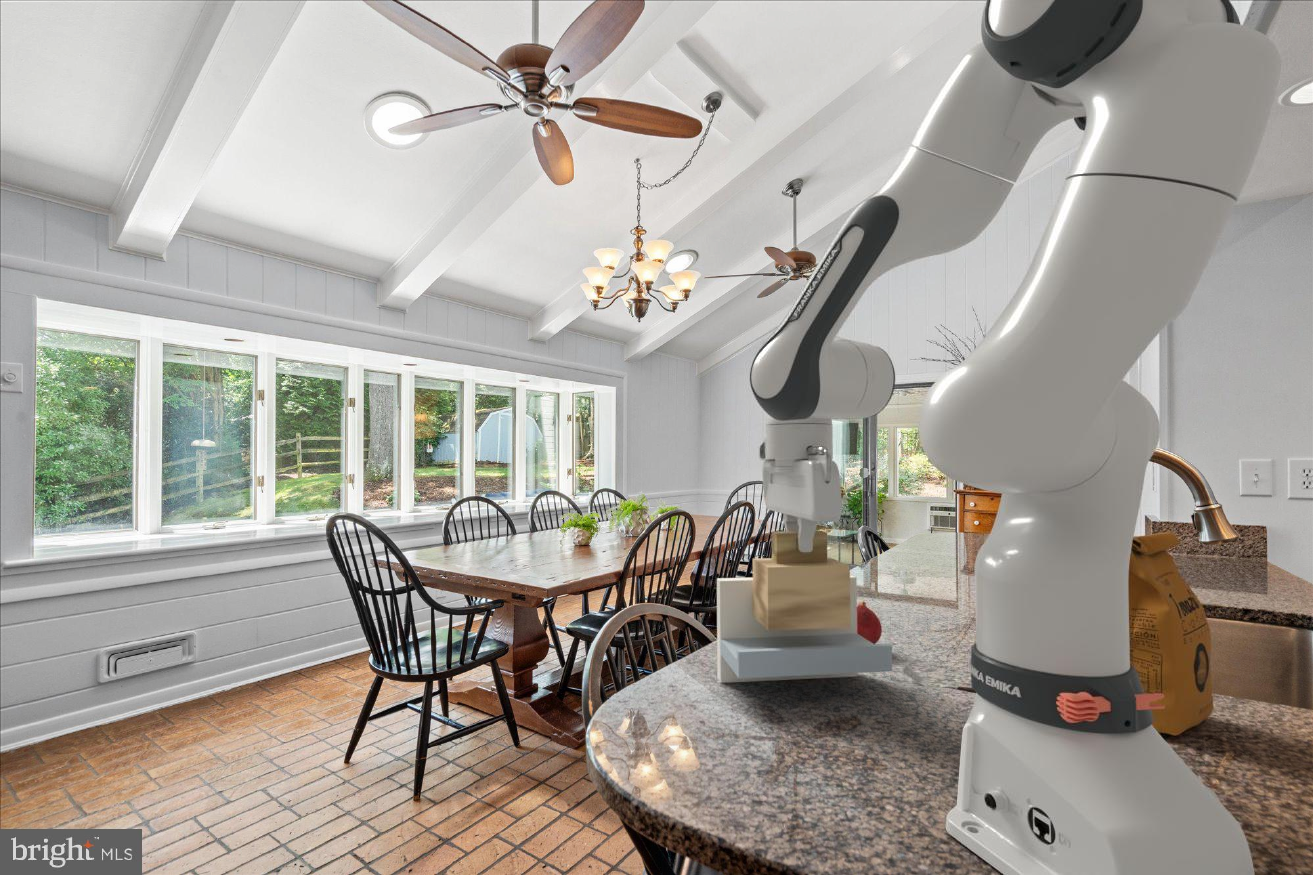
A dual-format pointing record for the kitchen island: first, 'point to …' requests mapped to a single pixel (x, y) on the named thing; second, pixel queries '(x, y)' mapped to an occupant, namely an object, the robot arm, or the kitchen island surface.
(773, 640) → the wall shelf
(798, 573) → the stacked wooden blocks
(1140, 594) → the coffee package
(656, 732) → the kitchen island surface
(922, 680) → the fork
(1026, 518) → the robot arm
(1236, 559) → the kitchen island surface
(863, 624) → the onion
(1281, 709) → the kitchen island surface
